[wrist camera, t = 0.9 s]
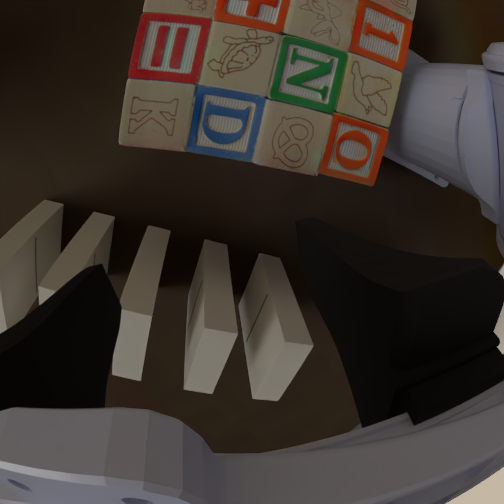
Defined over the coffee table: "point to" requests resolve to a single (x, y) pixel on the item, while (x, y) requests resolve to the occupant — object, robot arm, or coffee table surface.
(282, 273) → the domino
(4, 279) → the domino
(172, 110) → the stack of blocks
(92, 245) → the domino
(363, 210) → the coffee table surface
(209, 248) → the domino
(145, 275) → the domino
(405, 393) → the robot arm
